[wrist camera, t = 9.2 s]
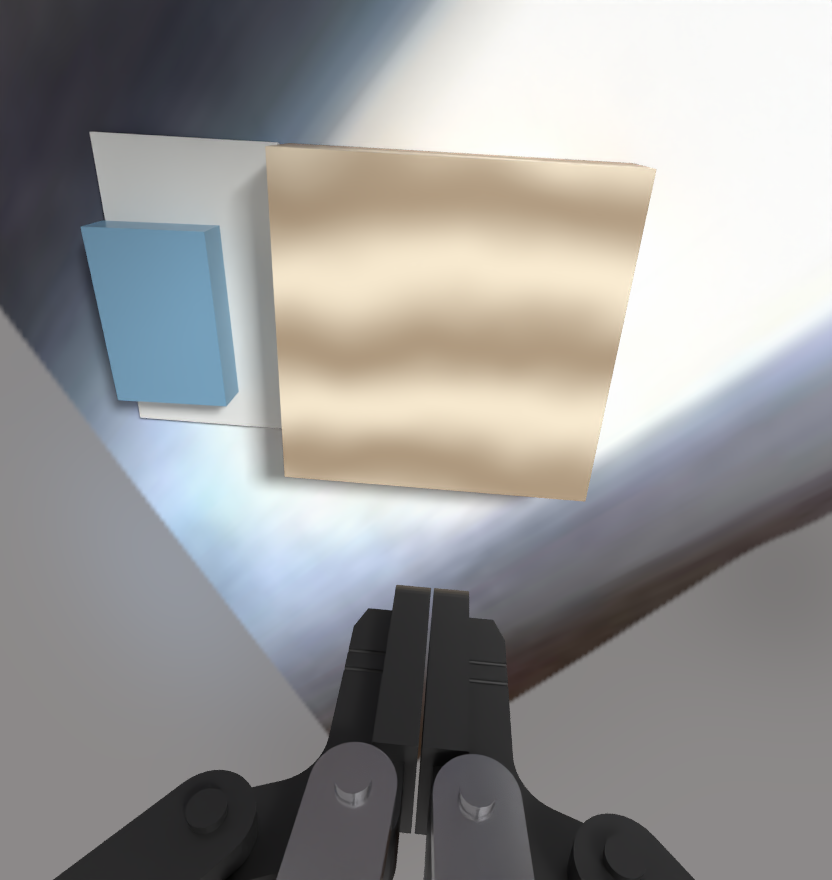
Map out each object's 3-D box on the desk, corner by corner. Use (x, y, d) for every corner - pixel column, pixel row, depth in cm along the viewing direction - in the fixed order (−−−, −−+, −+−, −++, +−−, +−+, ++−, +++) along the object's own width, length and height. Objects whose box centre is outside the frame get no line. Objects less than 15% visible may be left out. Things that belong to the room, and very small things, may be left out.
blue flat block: (204, 231, 29) (219, 225, 30) (80, 226, 29) (102, 220, 31) (226, 406, 33) (238, 391, 35) (118, 400, 33) (135, 386, 35)
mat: (94, 131, 29) (89, 131, 29) (279, 142, 29) (277, 142, 28) (143, 414, 36) (140, 417, 36) (293, 426, 36) (291, 429, 35)
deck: (290, 143, 29) (265, 146, 25) (632, 163, 28) (656, 169, 25) (302, 442, 36) (284, 476, 33) (573, 463, 36) (585, 501, 32)
